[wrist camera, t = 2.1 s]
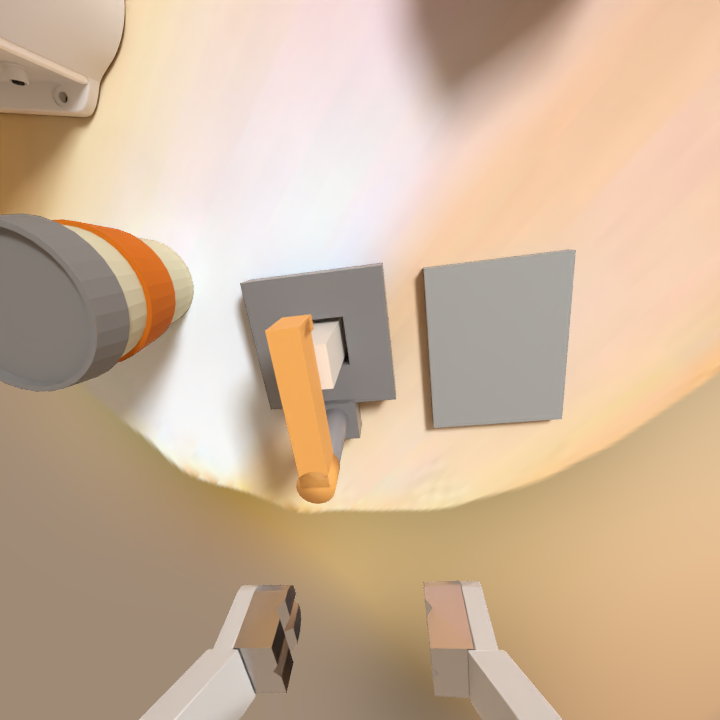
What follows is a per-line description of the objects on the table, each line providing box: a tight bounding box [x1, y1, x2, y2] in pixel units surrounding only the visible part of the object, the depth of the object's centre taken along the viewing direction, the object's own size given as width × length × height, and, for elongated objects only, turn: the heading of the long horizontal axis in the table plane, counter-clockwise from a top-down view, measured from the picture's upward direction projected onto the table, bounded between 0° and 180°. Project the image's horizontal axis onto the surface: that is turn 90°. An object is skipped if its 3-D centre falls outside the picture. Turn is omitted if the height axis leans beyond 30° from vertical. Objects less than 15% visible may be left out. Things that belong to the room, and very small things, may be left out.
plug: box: [311, 317, 347, 390], centre depth 33 cm, size 4×4×10 cm
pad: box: [423, 250, 576, 428], centre depth 36 cm, size 14×18×1 cm
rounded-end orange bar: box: [265, 314, 340, 504], centre depth 28 cm, size 3×15×4 cm, turn 8°
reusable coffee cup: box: [0, 214, 194, 391], centre depth 30 cm, size 13×12×15 cm
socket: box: [240, 263, 396, 463], centre depth 34 cm, size 14×18×10 cm
